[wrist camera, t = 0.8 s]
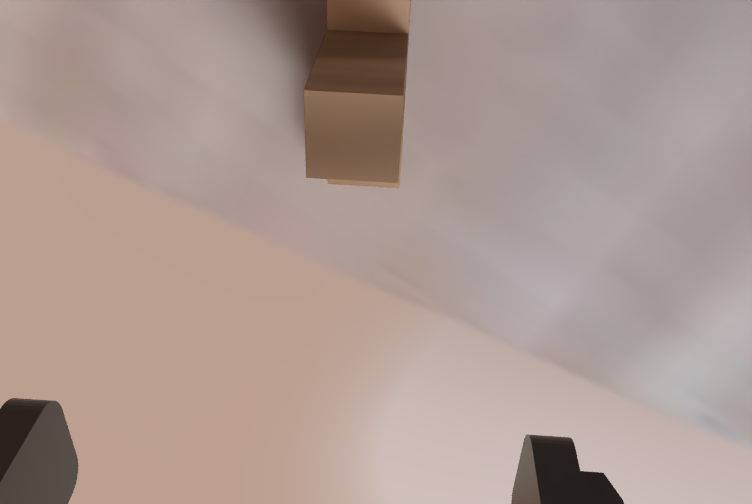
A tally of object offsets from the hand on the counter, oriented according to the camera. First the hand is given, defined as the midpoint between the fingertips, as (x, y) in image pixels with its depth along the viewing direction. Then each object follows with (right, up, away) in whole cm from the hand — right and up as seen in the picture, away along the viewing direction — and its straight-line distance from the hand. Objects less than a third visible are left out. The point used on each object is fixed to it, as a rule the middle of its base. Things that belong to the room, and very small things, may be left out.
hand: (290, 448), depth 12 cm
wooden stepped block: (+1, +12, +16) cm, 20 cm away
